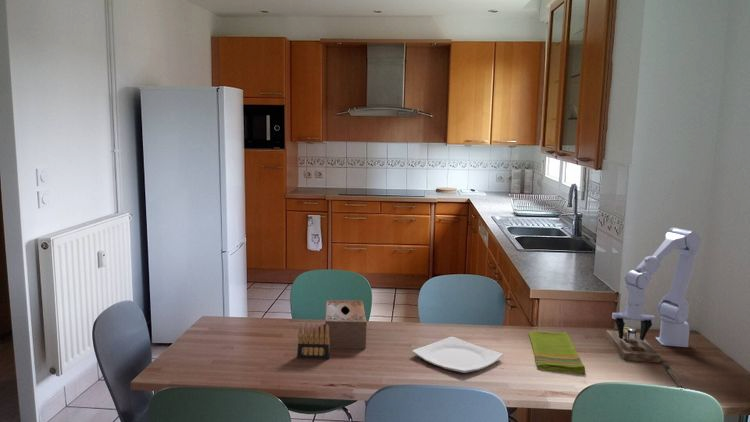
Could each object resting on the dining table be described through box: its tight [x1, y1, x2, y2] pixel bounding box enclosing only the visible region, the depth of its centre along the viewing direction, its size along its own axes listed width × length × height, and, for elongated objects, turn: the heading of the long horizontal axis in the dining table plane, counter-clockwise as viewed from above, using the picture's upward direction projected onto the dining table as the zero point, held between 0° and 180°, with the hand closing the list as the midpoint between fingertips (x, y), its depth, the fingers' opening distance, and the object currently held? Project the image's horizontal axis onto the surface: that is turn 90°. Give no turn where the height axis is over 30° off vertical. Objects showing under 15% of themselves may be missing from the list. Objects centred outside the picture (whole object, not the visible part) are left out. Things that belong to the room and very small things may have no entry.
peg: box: [626, 327, 638, 343], centre depth 213 cm, size 3×3×7 cm
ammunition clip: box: [296, 322, 330, 360], centre depth 192 cm, size 11×2×12 cm, turn 91°
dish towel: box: [528, 330, 586, 375], centre depth 206 cm, size 15×36×3 cm, turn 170°
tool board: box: [605, 329, 661, 363], centre depth 212 cm, size 12×24×2 cm, turn 173°
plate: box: [411, 336, 504, 374], centre depth 196 cm, size 24×24×3 cm
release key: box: [618, 326, 630, 337], centre depth 219 cm, size 4×5×2 cm
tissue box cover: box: [324, 299, 368, 349], centre depth 214 cm, size 26×14×10 cm, turn 4°
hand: (631, 338), depth 213 cm, fingers open, 7 cm apart
